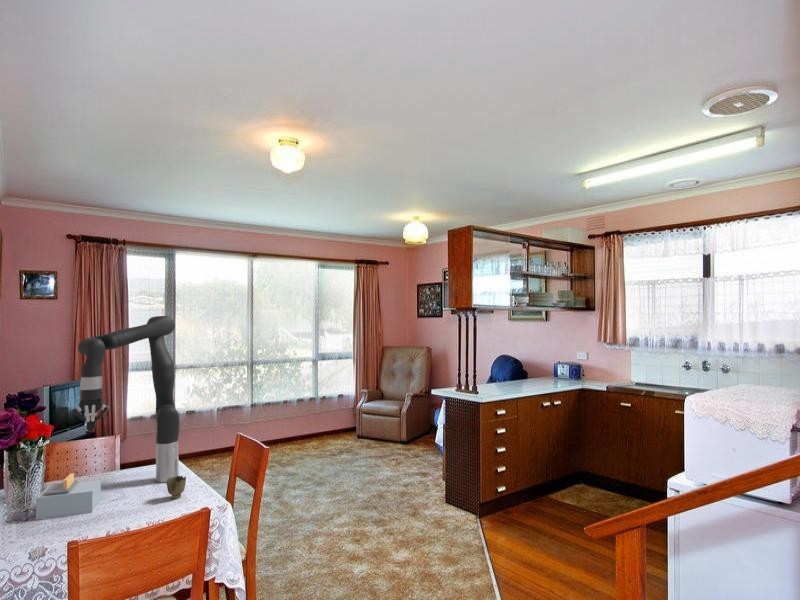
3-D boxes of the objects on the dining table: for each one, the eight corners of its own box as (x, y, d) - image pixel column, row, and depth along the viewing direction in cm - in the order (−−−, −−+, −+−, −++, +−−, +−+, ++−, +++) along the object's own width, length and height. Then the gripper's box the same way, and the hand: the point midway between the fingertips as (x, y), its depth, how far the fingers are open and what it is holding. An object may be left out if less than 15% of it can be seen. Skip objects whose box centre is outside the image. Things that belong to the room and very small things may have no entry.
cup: (162, 499, 197) (162, 479, 197) (178, 493, 203) (178, 474, 204) (174, 502, 193) (174, 482, 194) (190, 496, 200) (190, 476, 200)
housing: (100, 499, 198) (101, 479, 198) (92, 512, 185) (92, 491, 185) (48, 506, 191) (48, 485, 192) (35, 519, 178) (36, 498, 179)
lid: (77, 482, 194) (77, 471, 194) (68, 492, 183) (68, 481, 183) (53, 485, 191) (54, 474, 192) (43, 495, 180) (43, 483, 180)
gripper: (112, 385, 201) (111, 427, 201) (74, 387, 197) (74, 430, 196) (108, 387, 194) (107, 431, 194) (69, 390, 190) (69, 434, 189)
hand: (91, 430), depth 195 cm, fingers closed
